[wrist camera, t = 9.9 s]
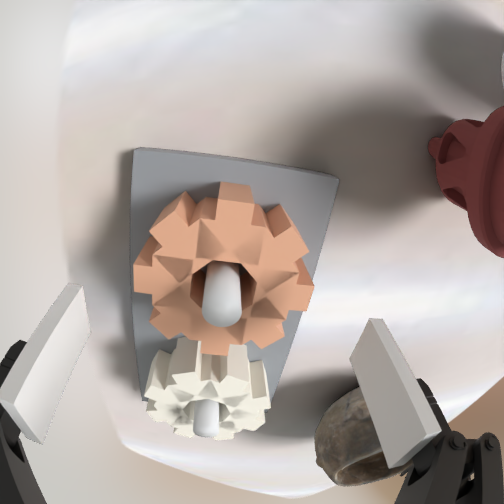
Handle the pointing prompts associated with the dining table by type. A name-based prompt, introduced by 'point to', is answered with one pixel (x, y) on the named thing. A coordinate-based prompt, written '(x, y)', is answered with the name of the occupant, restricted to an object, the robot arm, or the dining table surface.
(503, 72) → the white joined open cylinders
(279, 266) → the gear
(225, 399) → the gear
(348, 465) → the bowl
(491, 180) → the mechanical component
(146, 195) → the gear board
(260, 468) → the dining table surface
